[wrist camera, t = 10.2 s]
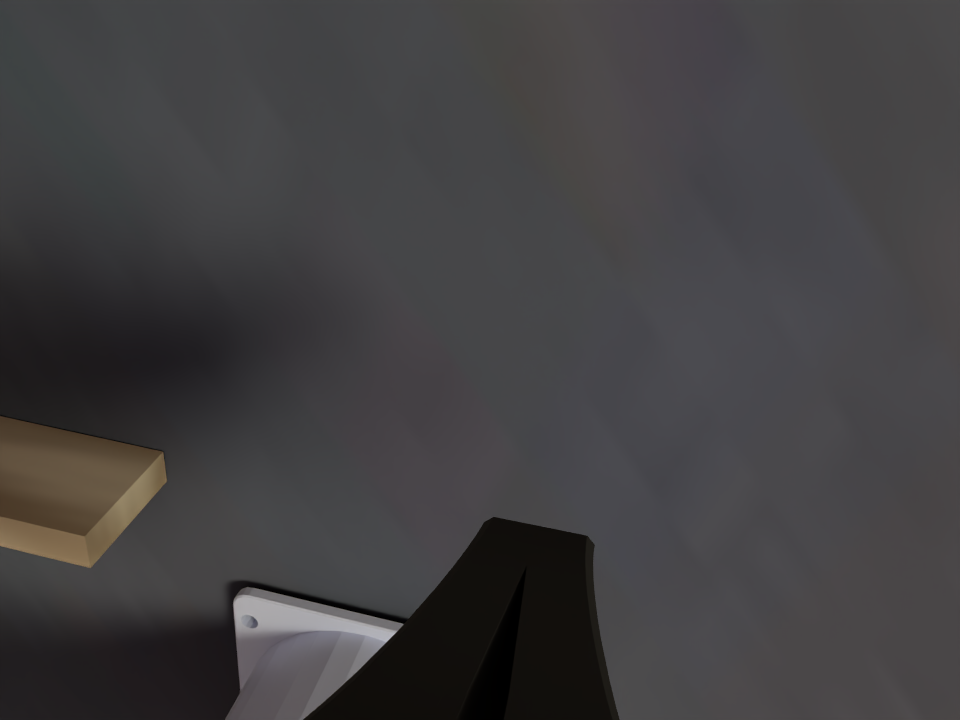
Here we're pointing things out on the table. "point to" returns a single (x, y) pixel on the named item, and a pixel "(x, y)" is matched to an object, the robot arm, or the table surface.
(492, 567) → the robot arm
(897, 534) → the table surface
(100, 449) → the box
